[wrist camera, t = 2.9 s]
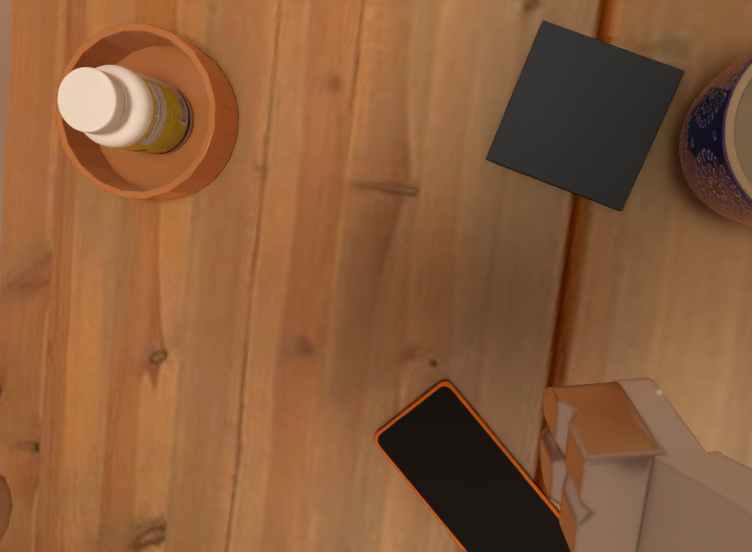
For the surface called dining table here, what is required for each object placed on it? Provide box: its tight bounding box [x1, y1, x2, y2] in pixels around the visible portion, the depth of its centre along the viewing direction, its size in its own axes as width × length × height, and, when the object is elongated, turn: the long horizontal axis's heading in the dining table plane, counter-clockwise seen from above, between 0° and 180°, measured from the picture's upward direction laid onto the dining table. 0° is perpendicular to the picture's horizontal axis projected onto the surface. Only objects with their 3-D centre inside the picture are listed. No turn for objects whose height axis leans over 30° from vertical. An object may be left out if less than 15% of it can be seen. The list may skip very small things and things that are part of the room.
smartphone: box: [374, 381, 570, 552], centre depth 49 cm, size 8×17×1 cm, turn 41°
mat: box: [487, 21, 684, 211], centre depth 45 cm, size 10×10×1 cm
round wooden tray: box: [56, 24, 238, 200], centre depth 48 cm, size 12×12×4 cm
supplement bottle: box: [57, 65, 193, 154], centre depth 45 cm, size 5×5×10 cm
